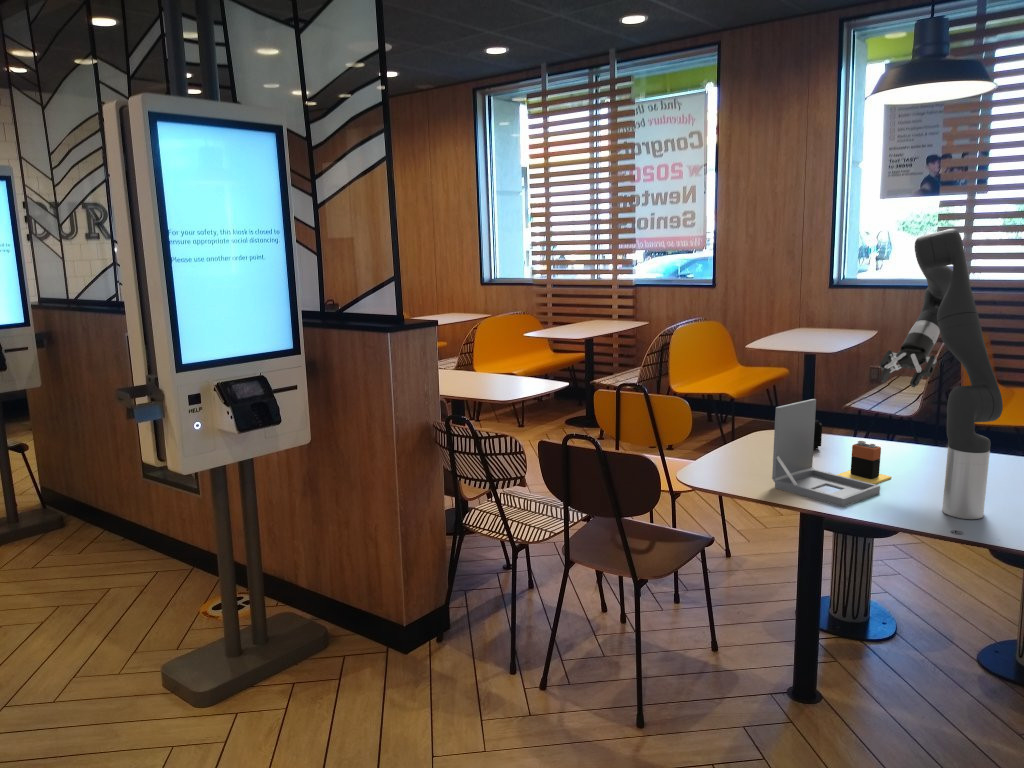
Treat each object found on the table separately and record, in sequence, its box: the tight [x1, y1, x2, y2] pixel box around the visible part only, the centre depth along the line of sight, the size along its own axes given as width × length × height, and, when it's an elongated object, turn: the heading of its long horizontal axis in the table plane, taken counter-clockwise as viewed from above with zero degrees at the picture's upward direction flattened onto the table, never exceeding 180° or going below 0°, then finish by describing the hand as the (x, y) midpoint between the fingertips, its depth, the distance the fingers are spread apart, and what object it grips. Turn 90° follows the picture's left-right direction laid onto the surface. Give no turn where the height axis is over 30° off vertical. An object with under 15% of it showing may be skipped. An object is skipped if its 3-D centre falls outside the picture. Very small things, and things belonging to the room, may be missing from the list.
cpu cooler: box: [813, 419, 823, 450], centre depth 266 cm, size 10×6×10 cm, turn 82°
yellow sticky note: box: [836, 469, 892, 485], centre depth 234 cm, size 11×11×1 cm
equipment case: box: [771, 398, 881, 508], centre depth 221 cm, size 18×22×23 cm
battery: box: [850, 440, 882, 479], centre depth 233 cm, size 4×7×10 cm, turn 36°
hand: (897, 383), depth 226 cm, fingers open, 8 cm apart
